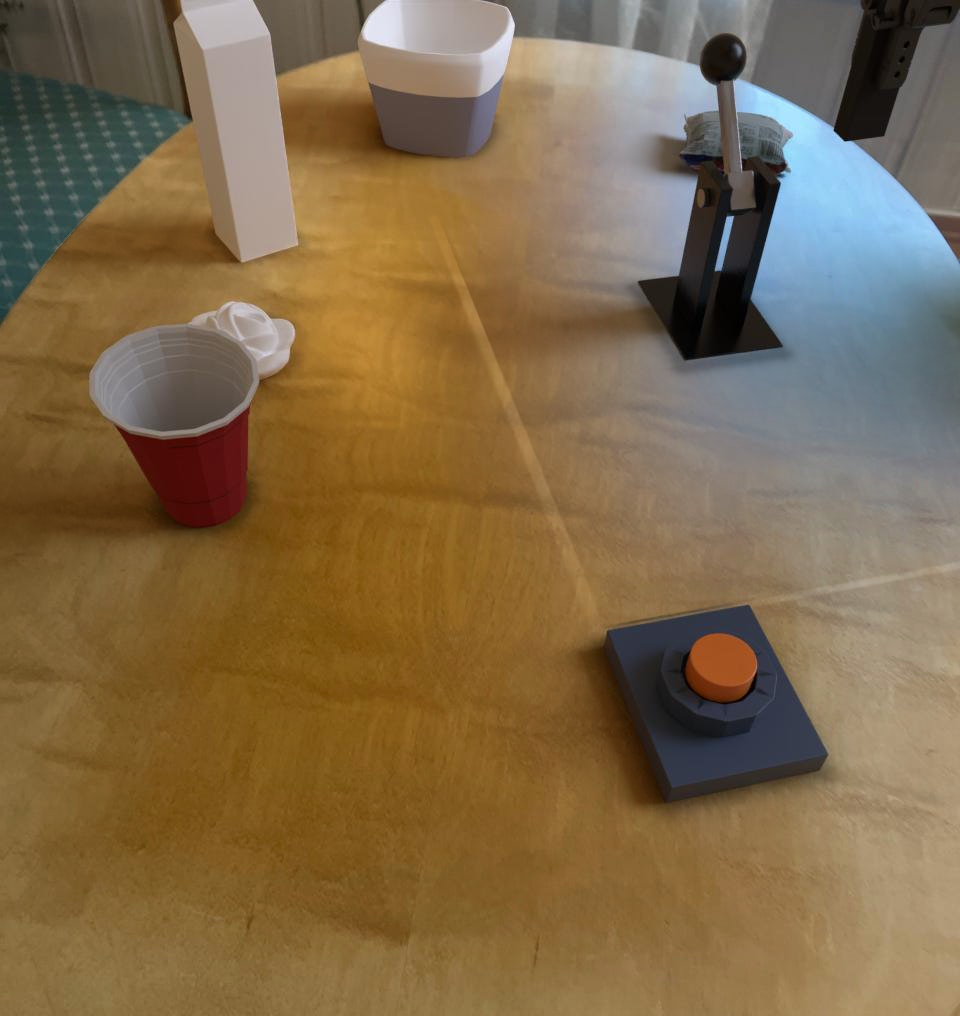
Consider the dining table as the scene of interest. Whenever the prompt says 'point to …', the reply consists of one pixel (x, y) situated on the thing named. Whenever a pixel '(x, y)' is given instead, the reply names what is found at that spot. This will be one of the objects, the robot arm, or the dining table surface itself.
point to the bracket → (718, 294)
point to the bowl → (436, 72)
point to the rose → (253, 333)
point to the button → (720, 667)
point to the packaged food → (754, 137)
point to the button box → (710, 708)
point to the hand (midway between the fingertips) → (858, 133)
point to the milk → (237, 124)
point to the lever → (729, 114)
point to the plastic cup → (182, 415)
